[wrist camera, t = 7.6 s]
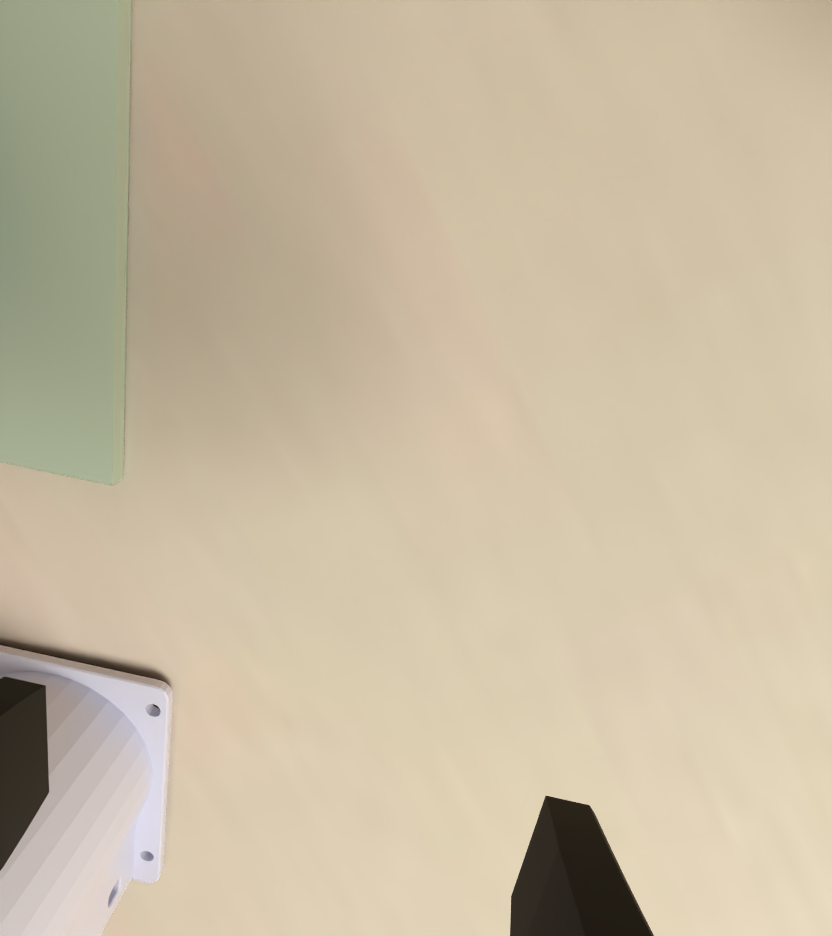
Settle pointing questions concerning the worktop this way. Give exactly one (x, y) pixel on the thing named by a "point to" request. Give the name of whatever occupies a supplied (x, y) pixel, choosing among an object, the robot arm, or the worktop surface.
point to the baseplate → (64, 234)
